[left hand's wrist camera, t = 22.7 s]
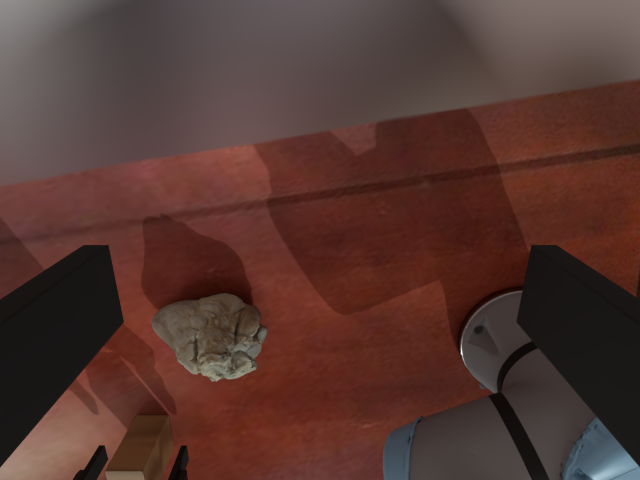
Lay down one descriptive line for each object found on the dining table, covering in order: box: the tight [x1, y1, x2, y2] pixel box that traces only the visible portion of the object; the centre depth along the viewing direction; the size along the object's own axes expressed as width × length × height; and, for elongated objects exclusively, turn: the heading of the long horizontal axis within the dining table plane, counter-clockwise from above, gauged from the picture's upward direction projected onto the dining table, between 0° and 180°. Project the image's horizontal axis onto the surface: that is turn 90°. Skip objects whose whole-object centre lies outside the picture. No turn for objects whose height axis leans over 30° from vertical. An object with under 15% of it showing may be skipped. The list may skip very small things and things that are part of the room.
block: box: [105, 415, 174, 480], centre depth 57 cm, size 6×5×10 cm
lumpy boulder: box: [152, 293, 267, 382], centre depth 50 cm, size 11×11×15 cm
